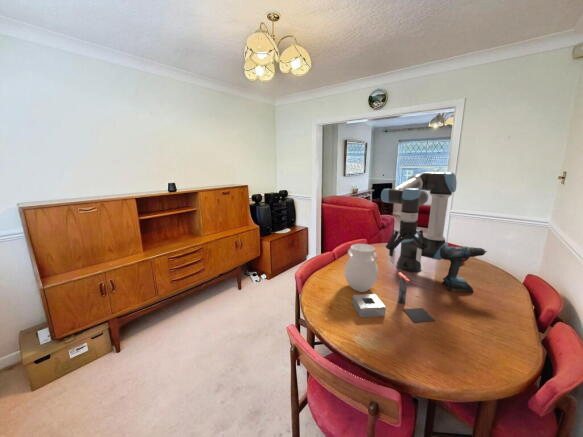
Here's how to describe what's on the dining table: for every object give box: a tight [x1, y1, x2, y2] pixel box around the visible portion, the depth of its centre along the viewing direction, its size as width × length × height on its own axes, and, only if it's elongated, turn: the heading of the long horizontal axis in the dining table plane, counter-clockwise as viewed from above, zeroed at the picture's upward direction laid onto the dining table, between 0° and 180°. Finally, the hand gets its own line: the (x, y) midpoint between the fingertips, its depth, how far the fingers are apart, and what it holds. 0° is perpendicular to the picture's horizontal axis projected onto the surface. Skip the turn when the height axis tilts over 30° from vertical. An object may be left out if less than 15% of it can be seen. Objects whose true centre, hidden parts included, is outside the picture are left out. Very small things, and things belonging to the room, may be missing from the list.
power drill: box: [440, 245, 488, 293], centre depth 140 cm, size 9×23×25 cm, turn 78°
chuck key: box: [397, 272, 411, 304], centre depth 128 cm, size 9×4×14 cm, turn 4°
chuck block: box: [352, 293, 387, 319], centre depth 123 cm, size 12×12×5 cm
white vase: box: [344, 243, 379, 293], centre depth 142 cm, size 19×18×25 cm
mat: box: [402, 307, 436, 324], centre depth 118 cm, size 10×10×1 cm
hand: (405, 261), depth 125 cm, fingers open, 13 cm apart
